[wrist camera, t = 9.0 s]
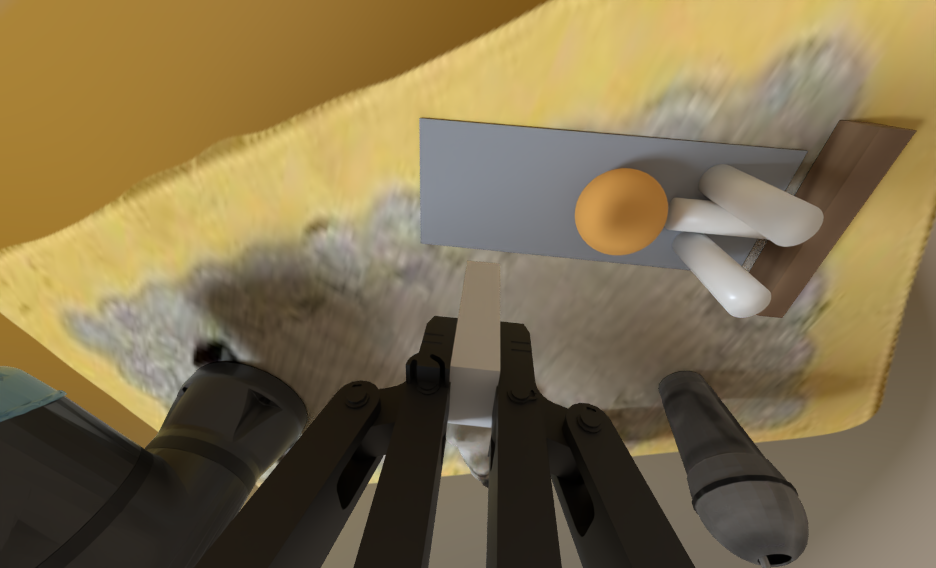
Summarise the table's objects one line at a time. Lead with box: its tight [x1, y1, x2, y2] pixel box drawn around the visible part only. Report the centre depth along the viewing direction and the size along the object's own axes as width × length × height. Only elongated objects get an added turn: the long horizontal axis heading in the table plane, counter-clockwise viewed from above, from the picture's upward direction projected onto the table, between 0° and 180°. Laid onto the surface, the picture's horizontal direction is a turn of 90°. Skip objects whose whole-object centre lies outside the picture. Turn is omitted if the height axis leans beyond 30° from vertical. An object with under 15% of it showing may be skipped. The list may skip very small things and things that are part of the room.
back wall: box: [749, 120, 916, 318], centre depth 25 cm, size 2×14×3 cm, turn 176°
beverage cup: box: [658, 371, 808, 568], centre depth 29 cm, size 7×7×20 cm
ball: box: [575, 168, 668, 255], centre depth 24 cm, size 6×6×6 cm
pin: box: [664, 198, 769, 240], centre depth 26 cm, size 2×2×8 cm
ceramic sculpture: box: [446, 423, 492, 487], centre depth 40 cm, size 11×9×15 cm
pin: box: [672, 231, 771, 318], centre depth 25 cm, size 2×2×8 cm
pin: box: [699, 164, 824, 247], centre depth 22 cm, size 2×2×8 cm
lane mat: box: [420, 118, 808, 270], centre depth 27 cm, size 27×10×1 cm, turn 86°
